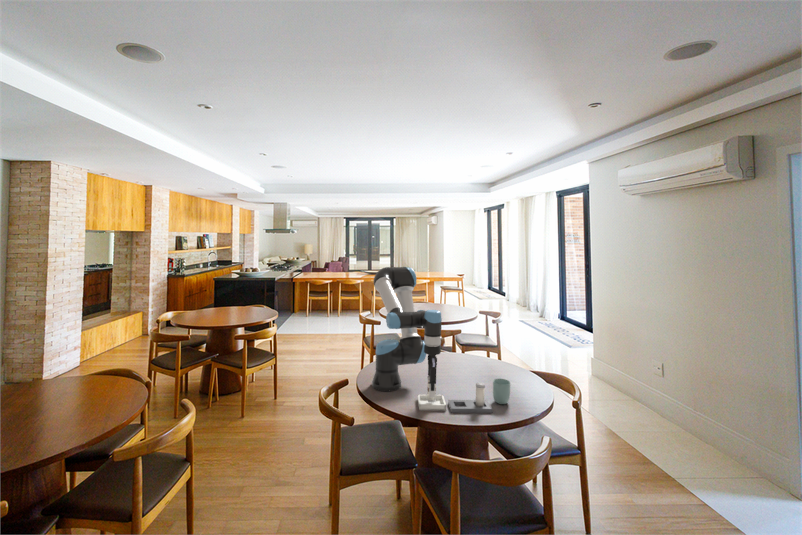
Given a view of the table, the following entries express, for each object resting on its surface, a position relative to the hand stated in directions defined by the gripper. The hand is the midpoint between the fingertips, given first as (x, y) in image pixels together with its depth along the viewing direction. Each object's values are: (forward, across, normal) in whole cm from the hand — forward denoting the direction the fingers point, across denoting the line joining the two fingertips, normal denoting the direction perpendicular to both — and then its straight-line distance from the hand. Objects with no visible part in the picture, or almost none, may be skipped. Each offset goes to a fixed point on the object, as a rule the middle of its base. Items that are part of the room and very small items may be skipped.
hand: (431, 394), depth 160 cm
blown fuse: (+3, 0, 0) cm, 3 cm away
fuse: (+5, -3, -22) cm, 22 cm away
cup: (+5, +3, -33) cm, 33 cm away
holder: (+5, -3, -17) cm, 18 cm away
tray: (+5, 0, 0) cm, 5 cm away
